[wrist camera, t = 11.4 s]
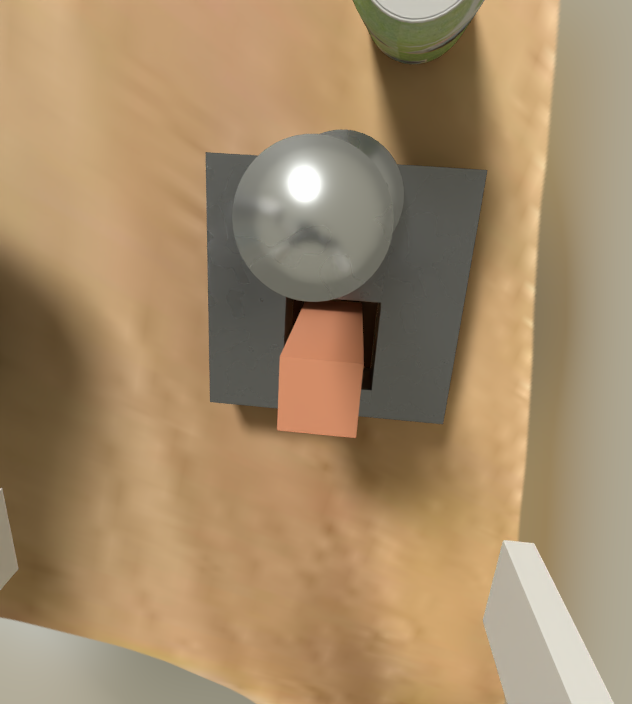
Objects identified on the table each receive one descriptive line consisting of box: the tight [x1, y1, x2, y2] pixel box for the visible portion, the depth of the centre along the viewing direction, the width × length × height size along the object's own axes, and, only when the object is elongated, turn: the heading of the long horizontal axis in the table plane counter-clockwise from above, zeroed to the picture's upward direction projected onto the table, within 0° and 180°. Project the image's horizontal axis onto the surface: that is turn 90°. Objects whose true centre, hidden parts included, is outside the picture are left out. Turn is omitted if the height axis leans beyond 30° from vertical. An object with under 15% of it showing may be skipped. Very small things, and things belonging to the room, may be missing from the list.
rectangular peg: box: [277, 300, 364, 438], centre depth 29 cm, size 4×4×12 cm
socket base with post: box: [206, 130, 487, 424], centre depth 23 cm, size 16×18×22 cm
